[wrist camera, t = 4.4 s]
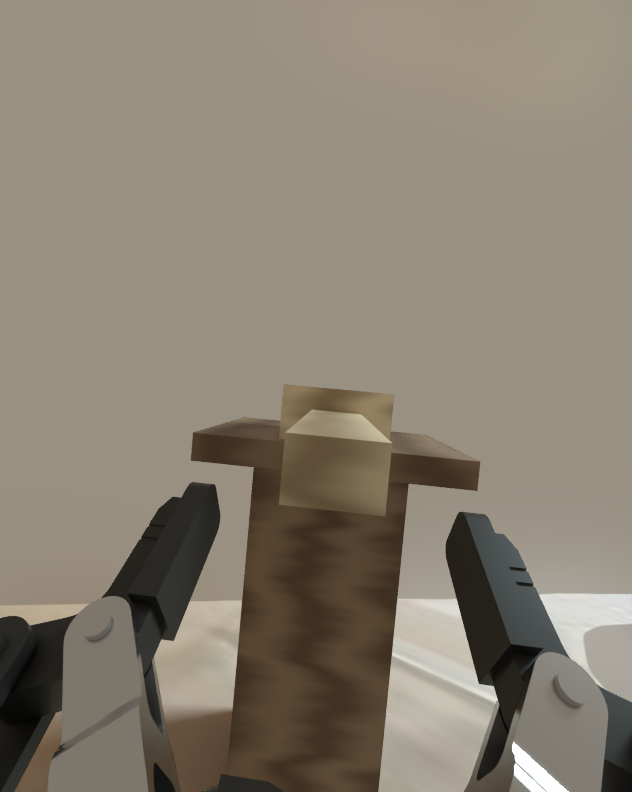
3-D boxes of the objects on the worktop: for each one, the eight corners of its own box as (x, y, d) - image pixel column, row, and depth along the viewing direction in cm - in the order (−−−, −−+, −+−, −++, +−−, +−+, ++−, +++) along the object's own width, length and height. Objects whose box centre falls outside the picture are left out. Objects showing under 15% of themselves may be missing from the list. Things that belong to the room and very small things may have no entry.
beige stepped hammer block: (375, 434, 31) (378, 393, 31) (455, 524, 10) (468, 400, 10) (292, 426, 32) (296, 385, 32) (212, 496, 11) (222, 377, 11)
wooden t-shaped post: (397, 724, 36) (426, 435, 35) (433, 913, 23) (480, 461, 22) (219, 697, 37) (243, 417, 36) (157, 864, 24) (193, 432, 23)
